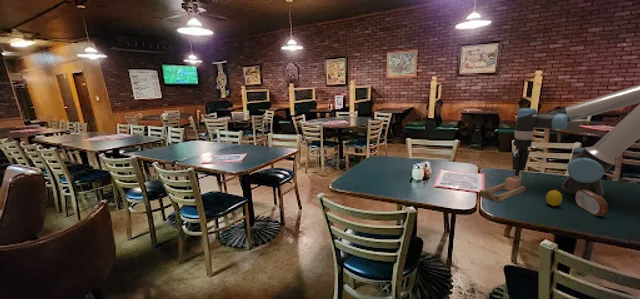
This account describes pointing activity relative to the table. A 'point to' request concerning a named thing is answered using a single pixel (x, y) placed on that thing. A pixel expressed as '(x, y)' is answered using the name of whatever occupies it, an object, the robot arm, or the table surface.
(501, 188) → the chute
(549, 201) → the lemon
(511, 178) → the block
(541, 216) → the table surface
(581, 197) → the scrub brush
